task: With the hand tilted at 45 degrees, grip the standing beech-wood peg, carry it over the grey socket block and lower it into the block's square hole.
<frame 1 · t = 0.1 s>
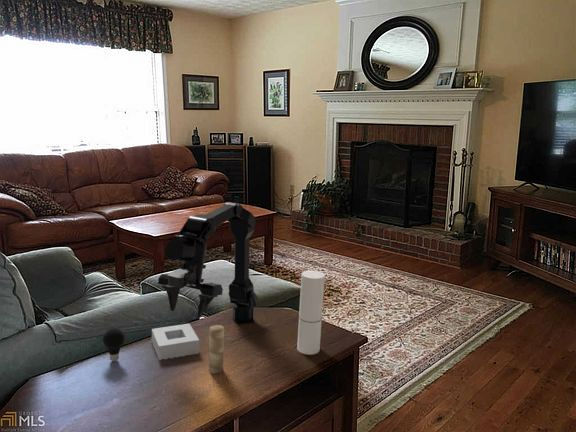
hand: (185, 314, 136), 15 cm above the table, tool pointing down, fingers open, 9 cm apart
socket block: (175, 347, 148), on the table
light bulb: (114, 361, 139), on the table
cylindrical container: (308, 349, 152), on the table
peg: (216, 370, 136), on the table
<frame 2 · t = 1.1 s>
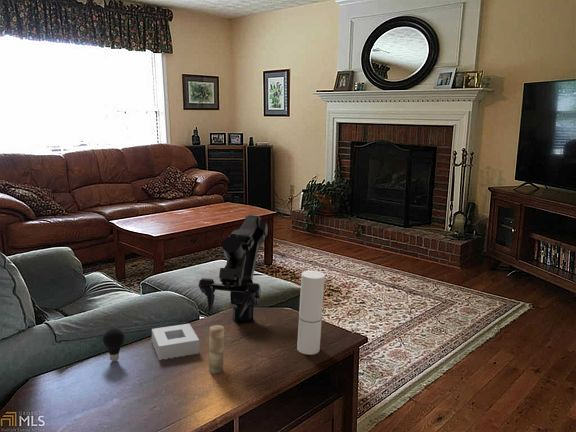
hand: (224, 314, 142), 13 cm above the table, tool tilted 45°, fingers open, 9 cm apart
nothing on the table moved.
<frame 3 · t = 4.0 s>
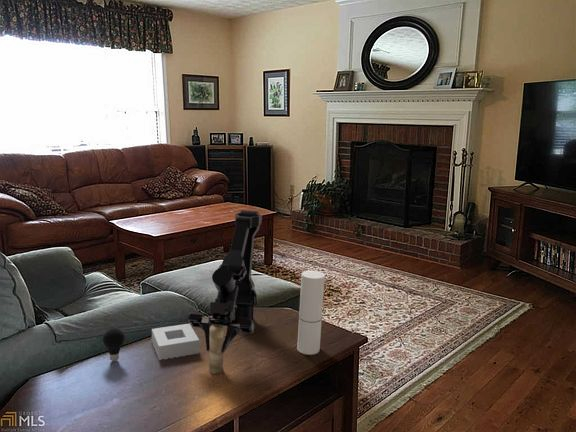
hand: (215, 351, 134), 7 cm above the table, tool tilted 45°, fingers closed on peg, 4 cm apart
peg: (216, 370, 136), on the table, touching gripper
everything else where it was.
when the fingers open (9 cm above the table, at t = 7.6 s): peg drops 2 cm, resting in socket block.
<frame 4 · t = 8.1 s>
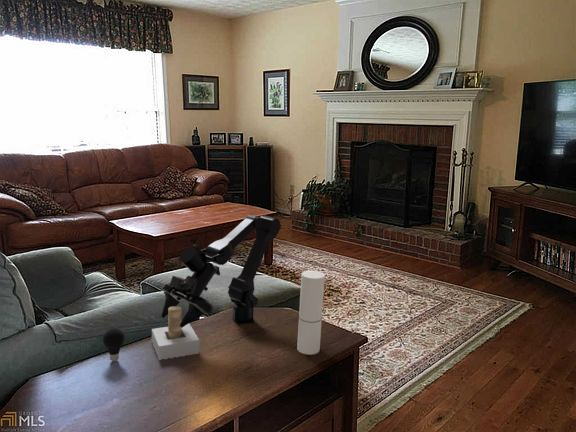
hand: (171, 322, 145), 9 cm above the table, tool tilted 45°, fingers open, 9 cm apart
peg: (175, 347, 148), resting in socket block
everything else where it was.
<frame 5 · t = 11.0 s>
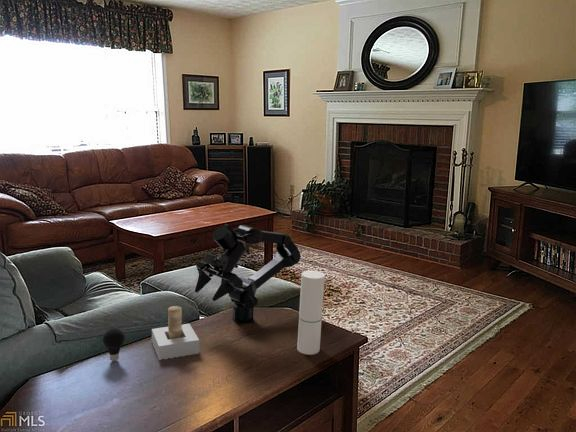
hand: (204, 296, 154), 14 cm above the table, tool tilted 45°, fingers open, 9 cm apart
nothing on the table moved.
at the end: peg 0.0 cm off-centre on the socket block, point 0.0 cm above the socket block's base; peg tilted 0°; the gripper is holding nothing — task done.
